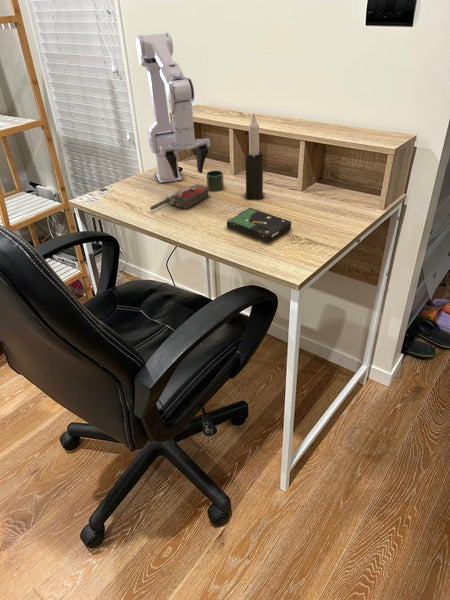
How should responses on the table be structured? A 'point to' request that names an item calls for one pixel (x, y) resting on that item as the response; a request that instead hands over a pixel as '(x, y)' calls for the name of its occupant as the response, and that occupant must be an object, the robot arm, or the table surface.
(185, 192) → the walkie-talkie
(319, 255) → the table surface
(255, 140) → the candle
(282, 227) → the disk drive
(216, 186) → the green cup
